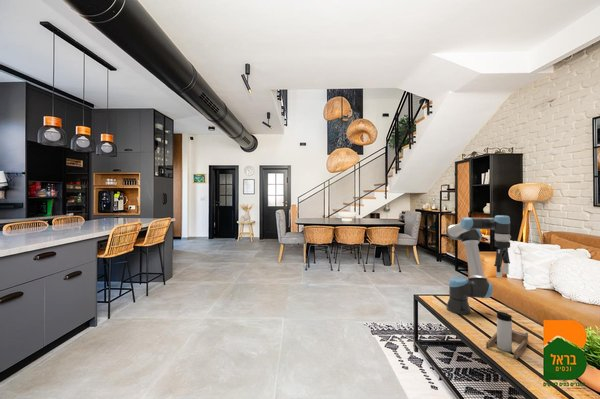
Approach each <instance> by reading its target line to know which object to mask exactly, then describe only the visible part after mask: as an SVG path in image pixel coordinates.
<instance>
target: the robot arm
mask: <svg viewBox="0 0 600 399" xmlns="http://www.w3.org/2000/svg"><path fill="white" fill-rule="evenodd" d="M481 230H493V231H494V247H495V248H498V249H496V254H495V255H496V256H495V261H494V264H493V266H494V267H495V272H496V273H495V277H496V278H500V279H503V274H504V275H510V274H509V270H510V269H509V267H510V265H509V264H511V261H510V256H509V249H510V248H511V238H512V236H511V217H510V216H509V215H495V216H494V217H468V216H467V217H462V218H461V220H460V222H459V223H457V224H452V225H451V224H450V225H449V226H447V228H446V229H445V232H446V235H447V236H448V238H449V239H452V240H455V241H461V244H463V245H464V250H465V254H466V260H467V266H468V272H469V277H467V278H466V277H461V276H459V277H458V276H457V277H451V278H450V279H449V283H448V286H449V290H448V291H449V293H448V294H449V298H448V300H447V303H446V310H448V311H449V312H451V313H454V314H457V315H470V314H471V312H472V311H471V310H472V309H471V307H470V304H469V298H475V299H476V298H477V299H478V298H479V299H489V298H490V297H492V295H493V290H494V288H493V284H492V282H491V281H488V278H487V277H485V275H484V270H483V265H482V260H481V256H480V255H481V254H480V249H479V244H480V241H481V240H482V238H483V236H482V231H481Z"/></svg>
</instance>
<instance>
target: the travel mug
mask: <svg viewBox="0 0 600 399" xmlns="http://www.w3.org/2000/svg"><path fill="white" fill-rule="evenodd" d="M512 322H513V321H512V315H510V314H508V313H507V312H504V311H497V312H496V333H497V341H496V349H498V350H501V351H504V352H506V353H509V354H511V353H512V352H513V347H512V346H513V344H512V343H513V341H512V330H513V327H512V325H513V323H512Z"/></svg>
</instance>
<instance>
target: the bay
mask: <svg viewBox="0 0 600 399" xmlns="http://www.w3.org/2000/svg"><path fill="white" fill-rule="evenodd" d="M528 337H529V332H527V331H525V333H524V332H520V331H517V330H514V329H512V342H515V343H518V344H519V345H518V347H517V348H515V350H514V352H513V354H511V353H506V352H504V351H501V350H498V349H497V347H496V348H495V347H493V346H494V345H495V343H497V332H495V333H494V334H493V335H492V337H490V338H489V340H487V341H486V343H485V345H486V346H485V347H486V348H485V349H487V350H490V351H492V350H493V352H495V351H496V352H495V353H498V354H500V353H501V354H500V355H503V356H505V357H508V358H512V359H514V360H518V359H519V357H520V356H521V354H522V353H523V351H524V350H525V349H526V347H527V346H528V342H529V338H528Z"/></svg>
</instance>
